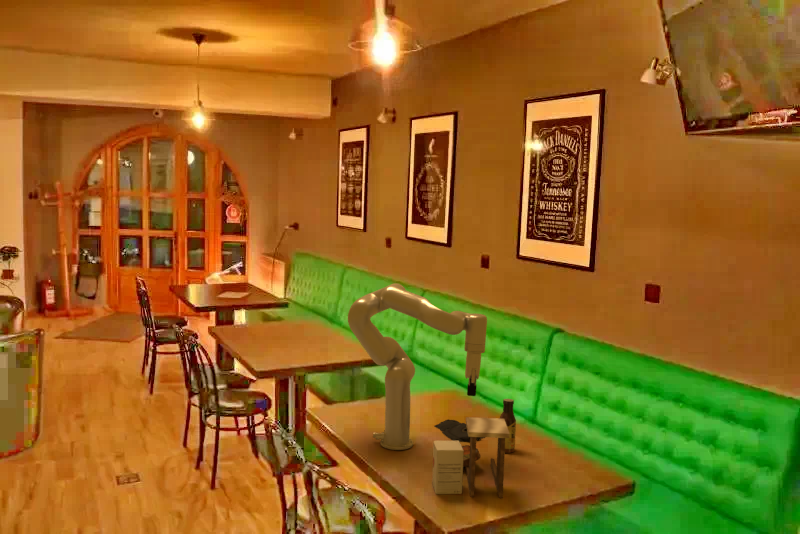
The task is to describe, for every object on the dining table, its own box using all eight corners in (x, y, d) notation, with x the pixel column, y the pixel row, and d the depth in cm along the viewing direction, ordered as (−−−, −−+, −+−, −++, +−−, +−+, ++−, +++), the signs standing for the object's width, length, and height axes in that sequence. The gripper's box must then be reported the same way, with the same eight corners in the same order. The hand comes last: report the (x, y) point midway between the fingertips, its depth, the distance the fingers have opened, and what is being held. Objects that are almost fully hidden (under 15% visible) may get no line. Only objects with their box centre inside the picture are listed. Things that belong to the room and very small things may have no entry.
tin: (481, 450, 241) (461, 461, 238) (485, 458, 241) (464, 469, 238) (464, 443, 255) (445, 453, 252) (468, 451, 255) (448, 461, 253)
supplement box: (431, 482, 232) (432, 439, 230) (457, 482, 232) (459, 439, 231) (435, 494, 223) (436, 450, 221) (462, 494, 223) (464, 449, 222)
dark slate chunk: (458, 424, 293) (458, 413, 293) (489, 441, 274) (489, 429, 274) (427, 429, 286) (428, 418, 286) (457, 446, 267) (457, 435, 266)
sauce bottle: (514, 454, 259) (516, 403, 257) (497, 453, 260) (499, 401, 258) (514, 448, 266) (517, 398, 263) (498, 446, 267) (500, 397, 265)
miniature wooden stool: (466, 496, 222) (468, 432, 220) (461, 464, 249) (463, 406, 246) (506, 498, 221) (509, 433, 219) (497, 465, 248) (500, 407, 246)
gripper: (464, 342, 262) (461, 388, 264) (465, 351, 247) (461, 400, 249) (484, 343, 262) (480, 390, 264) (486, 352, 247) (482, 402, 249)
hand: (471, 395), depth 256 cm, fingers closed
